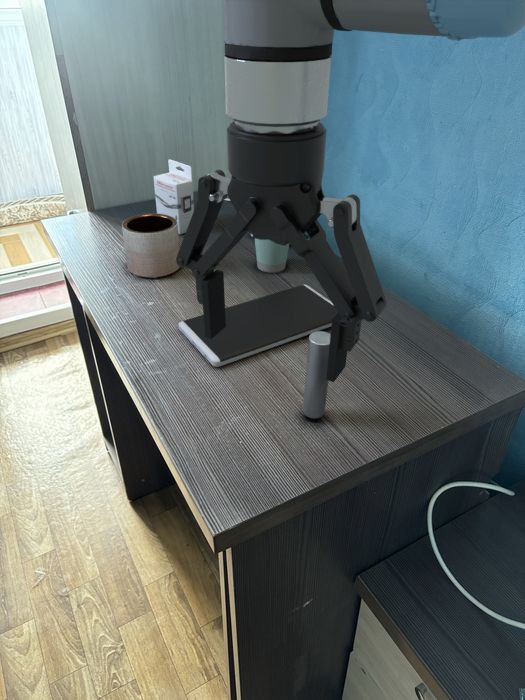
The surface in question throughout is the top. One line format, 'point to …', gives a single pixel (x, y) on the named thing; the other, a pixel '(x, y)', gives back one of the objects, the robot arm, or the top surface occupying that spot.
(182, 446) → the top surface
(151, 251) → the planter
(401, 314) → the top surface
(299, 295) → the smartphone
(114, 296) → the top surface
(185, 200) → the ink box
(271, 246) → the coffee cup
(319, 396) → the grey metal rod
